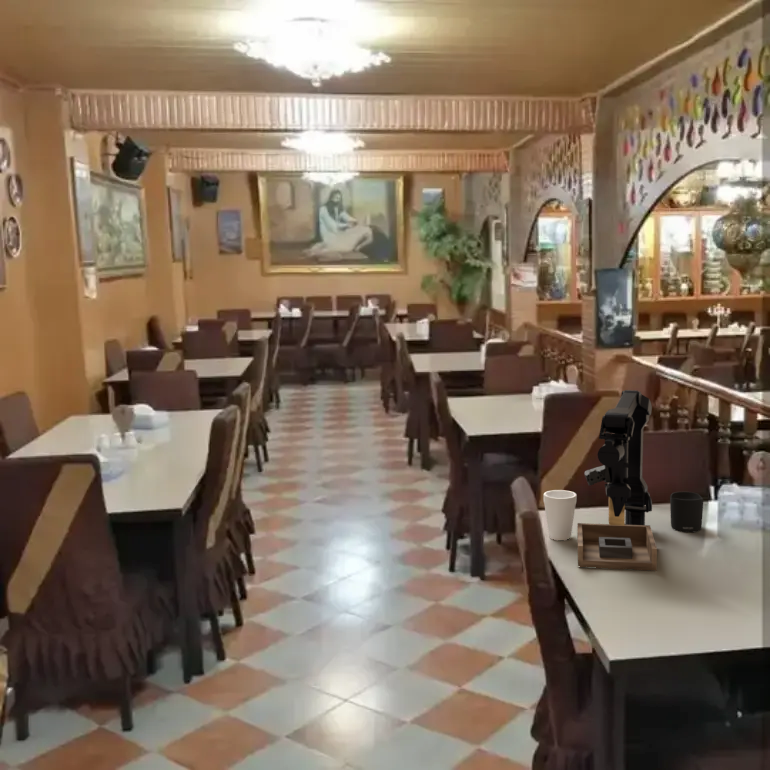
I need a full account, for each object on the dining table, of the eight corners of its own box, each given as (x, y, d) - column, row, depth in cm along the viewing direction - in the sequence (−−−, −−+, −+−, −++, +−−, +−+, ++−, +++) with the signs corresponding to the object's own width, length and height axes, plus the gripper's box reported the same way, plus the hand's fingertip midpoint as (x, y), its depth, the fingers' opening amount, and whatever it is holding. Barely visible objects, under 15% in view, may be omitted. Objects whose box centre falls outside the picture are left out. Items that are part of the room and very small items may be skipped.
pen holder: (663, 528, 266) (664, 496, 264) (679, 521, 272) (680, 489, 270) (692, 535, 259) (693, 502, 257) (708, 527, 265) (709, 495, 263)
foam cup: (573, 543, 254) (574, 499, 252) (541, 540, 257) (541, 497, 255) (577, 533, 263) (578, 491, 261) (546, 531, 266) (546, 489, 264)
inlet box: (577, 543, 254) (577, 523, 253) (649, 545, 250) (650, 525, 249) (578, 567, 235) (578, 545, 234) (656, 570, 231) (656, 548, 230)
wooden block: (608, 520, 243) (608, 492, 242) (623, 521, 243) (623, 492, 241) (609, 525, 240) (609, 496, 238) (624, 525, 239) (624, 496, 238)
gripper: (585, 450, 249) (585, 503, 251) (587, 465, 231) (587, 523, 233) (626, 450, 247) (625, 504, 249) (631, 466, 229) (630, 524, 231)
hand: (616, 514), depth 241 cm, fingers closed on wooden block, 4 cm apart
